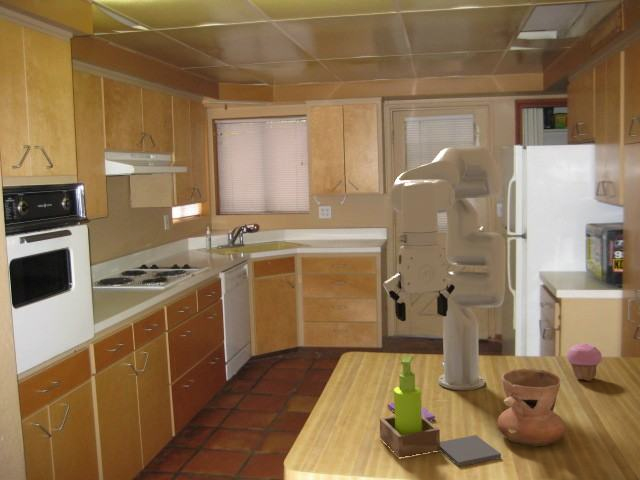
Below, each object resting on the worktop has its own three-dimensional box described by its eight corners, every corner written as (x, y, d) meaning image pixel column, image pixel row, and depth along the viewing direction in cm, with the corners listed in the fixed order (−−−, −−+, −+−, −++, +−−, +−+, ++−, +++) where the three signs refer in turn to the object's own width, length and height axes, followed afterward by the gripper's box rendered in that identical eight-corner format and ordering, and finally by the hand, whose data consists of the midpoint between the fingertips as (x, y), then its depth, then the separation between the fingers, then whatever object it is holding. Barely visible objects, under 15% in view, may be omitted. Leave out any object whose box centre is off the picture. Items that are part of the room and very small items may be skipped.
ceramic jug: (535, 461, 137) (535, 395, 135) (480, 438, 148) (479, 378, 146) (584, 436, 147) (585, 374, 145) (529, 417, 159) (529, 360, 157)
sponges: (410, 427, 157) (409, 420, 157) (387, 409, 169) (386, 402, 168) (436, 422, 159) (435, 415, 159) (411, 404, 171) (411, 398, 171)
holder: (380, 439, 150) (379, 418, 149) (418, 432, 153) (417, 411, 152) (399, 459, 140) (398, 437, 139) (440, 451, 143) (439, 429, 142)
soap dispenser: (425, 440, 149) (423, 354, 146) (419, 453, 142) (417, 364, 140) (399, 437, 151) (397, 353, 148) (393, 450, 144) (390, 362, 142)
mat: (435, 446, 145) (435, 442, 145) (476, 439, 148) (475, 435, 148) (458, 466, 136) (458, 462, 135) (500, 458, 139) (500, 453, 138)
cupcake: (604, 376, 184) (604, 341, 183) (598, 386, 177) (598, 350, 175) (570, 372, 189) (570, 338, 187) (563, 381, 181) (563, 346, 180)
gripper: (389, 244, 135) (391, 325, 137) (464, 238, 140) (466, 317, 142) (376, 240, 142) (378, 318, 145) (448, 235, 147) (449, 309, 149)
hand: (421, 317), depth 143 cm, fingers open, 9 cm apart
